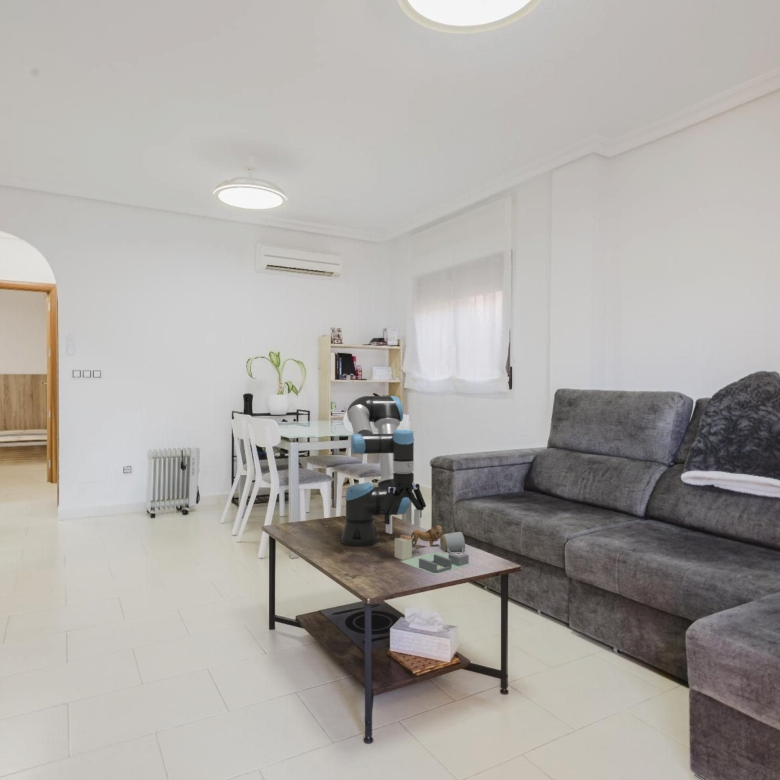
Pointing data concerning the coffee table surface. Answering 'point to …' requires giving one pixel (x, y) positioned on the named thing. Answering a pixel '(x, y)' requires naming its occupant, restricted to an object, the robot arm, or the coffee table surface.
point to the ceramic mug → (452, 542)
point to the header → (432, 565)
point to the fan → (459, 558)
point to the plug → (403, 547)
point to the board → (429, 557)
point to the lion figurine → (427, 535)
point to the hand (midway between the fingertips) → (403, 530)
